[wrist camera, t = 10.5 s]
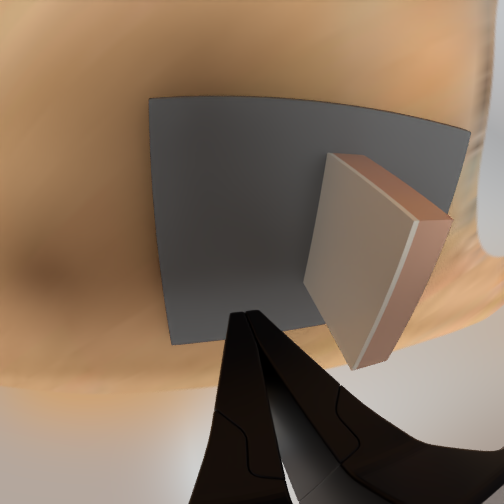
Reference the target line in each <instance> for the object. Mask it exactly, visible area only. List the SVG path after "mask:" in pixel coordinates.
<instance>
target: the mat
mask: <svg viewBox="0 0 504 504" xmlns="http://www.w3.org/2000/svg"><path fill="white" fill-rule="evenodd" d="M149 133H150V157H151V175H152V190H153V203H154V215H155V226H156V236H157V245H158V254H159V263H160V271H161V278H162V286H163V293H164V300H165V307H166V313H167V320H168V326H169V332H170V338H171V344H172V345H180V344H190V343H200V342H208V341H217V340H225V339H226V332H227V326H228V320H229V315H230V313H232V312H241V311H243V312H245V311H249V310H260V311H261V312H262V313H263V314H264V315H265V316H266V317H267V318H268V319H269V320H270V321H272V322H273V323H274V324H275V325H276V326H277V327H278V328H279V329H280V330H281V331H287V330H293V329H299V328H305V327H311V326H316V325H322V324H326V323H325V321H324V319H323V317H322V316H321V314H320V312H319V310H318V308H317V306H316V305H315V303H314V301H313V299H312V297H311V296H310V294H309V292H308V290H307V288H306V287H305V285H304V283H303V281H304V276H305V272H306V267H307V262H308V257H309V252H310V247H311V242H312V237H313V232H314V227H315V221H316V216H317V211H318V205H319V200H320V194H321V188H322V182H323V177H324V171H325V165H326V158H327V153H341V154H357V155H365V156H366V157H368V158H369V159H371V160H372V161H374V162H375V163H377V164H378V165H380V166H381V167H383V168H384V169H386V170H387V171H389V172H390V173H392V174H393V175H395V176H396V177H398V178H399V179H400V180H402V181H403V182H405V183H406V184H407V185H409V186H410V187H412V188H413V189H414V190H416V191H417V192H418V193H420V194H421V195H423V196H424V197H425V198H427V199H428V200H429V201H431V202H432V203H433V204H434V205H436V206H437V207H438V208H440V209H441V210H442V211H443V212H445V213H446V214H448V211H449V208H450V205H451V202H452V199H453V196H454V193H455V189H456V186H457V183H458V180H459V176H460V173H461V169H462V166H463V162H464V159H465V155H466V151H467V147H468V143H469V139H470V135H471V132H469V131H467V130H465V129H461V128H458V127H454V126H450V125H447V124H443V123H439V122H435V121H431V120H427V119H422V118H418V117H413V116H409V115H404V114H399V113H394V112H389V111H383V110H378V109H372V108H366V107H360V106H353V105H346V104H338V103H331V102H322V101H313V100H302V99H290V98H276V97H256V96H179V97H160V98H149Z"/></svg>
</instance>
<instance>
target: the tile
mask: <svg viewBox="0 0 504 504" xmlns="http://www.w3.org/2000/svg"><path fill="white" fill-rule="evenodd" d="M452 222H453V219H452V218H451V217H450V216H449V215H447V214H446V213H445V212H443V211H442V210H441V209H440V208H438V207H437V206H436V205H434V204H433V203H432V202H431V201H429V200H428V199H427V198H425V197H424V196H423V195H421V194H420V193H418V192H417V191H416V190H414V189H413V188H412V187H410V186H409V185H407V184H406V183H405V182H403V181H402V180H400V179H399V178H398V177H396V176H395V175H393V174H392V173H390V172H389V171H387V170H386V169H384V168H383V167H381V166H380V165H378V164H377V163H375V162H374V161H372V160H371V159H369V158H368V157H366V156H365V155H357V154H341V153H327V158H326V165H325V171H324V177H323V182H322V188H321V194H320V200H319V205H318V211H317V216H316V221H315V227H314V232H313V237H312V242H311V247H310V252H309V257H308V262H307V267H306V272H305V276H304V281H303V283H304V285H305V287H306V288H307V290H308V292H309V294H310V296H311V297H312V299H313V301H314V303H315V305H316V306H317V308H318V310H319V312H320V314H321V316H322V317H323V319H324V321H325V323H326V325H327V326H328V328H329V330H330V332H331V334H332V336H333V337H334V339H335V341H336V343H337V345H338V347H339V349H340V350H341V352H342V354H343V356H344V358H345V360H346V362H347V364H348V365H349V367H350V369H351V370H356V369H359V368H363V367H366V366H370V365H373V364H376V363H380V362H383V361H386V360H387V359H388V358H389V356H390V354H391V352H392V351H393V349H394V347H395V345H396V344H397V342H398V340H399V338H400V336H401V335H402V333H403V331H404V329H405V327H406V325H407V323H408V321H409V320H410V318H411V316H412V314H413V312H414V310H415V308H416V306H417V304H418V302H419V300H420V298H421V296H422V293H423V291H424V289H425V287H426V285H427V283H428V281H429V278H430V276H431V274H432V272H433V269H434V267H435V265H436V262H437V260H438V258H439V255H440V253H441V251H442V248H443V246H444V243H445V241H446V238H447V236H448V233H449V230H450V228H451V225H452Z"/></svg>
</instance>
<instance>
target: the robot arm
mask: <svg viewBox="0 0 504 504" xmlns="http://www.w3.org/2000/svg"><path fill="white" fill-rule="evenodd" d="M281 459H282V460H281ZM282 462H283V464H284V467H285V469H286V472H287V474H288V477H289V479H290V482H291V484H292V487H293V489H294V491H295V494H296V497H297V499H298V501H300V502H299V504H504V447H502V448H501V449H500V450H497V451H478V450H468V449H459V448H451V447H444V446H436V445H431V444H427V443H424V442H422V441H419V440H417V439H415V438H413V437H412V436H410V435H408V434H407V433H405V432H404V431H402V430H401V429H399V428H398V427H396V426H395V425H393V424H392V423H390V422H388V421H387V420H386V419H384V418H382V417H381V416H380V415H378V414H377V413H375V412H374V411H373V410H371V409H370V408H368V407H367V406H366V405H364V404H363V403H362V402H361V401H359V400H358V399H357V398H356V397H355V396H353V395H352V394H351V393H350V392H349V391H348V390H346V389H345V388H344V387H343V386H342V385H341V386H340V384H339V383H338V382H337V381H336V380H335V379H334V378H333V377H332V376H330V375H329V374H328V373H327V372H326V371H325V370H324V369H323V368H322V367H321V366H319V365H318V364H317V363H316V362H315V361H314V360H313V359H312V358H311V357H309V356H308V355H307V354H306V353H305V352H304V351H303V350H302V349H301V348H300V347H299V346H297V345H296V344H295V343H294V342H293V341H292V340H291V339H290V338H289V337H288V336H287V335H286V334H284V333H283V332H282V331H281V330H280V329H279V328H278V327H277V326H276V325H275V324H274V323H273V322H272V321H270V320H269V319H268V318H267V317H266V316H265V315H264V314H263V313H262V312H261V311H260V310H249V311H245V312H243V311H241V312H232V313H230V315H229V320H228V326H227V332H226V339H225V345H224V351H223V357H222V363H221V370H220V376H219V382H218V389H217V395H216V402H215V408H214V413H213V420H212V426H211V431H210V436H209V441H208V444H207V448H206V451H205V456H204V459H203V462H202V465H201V468H200V471H199V474H198V477H197V480H196V483H195V486H194V489H193V492H192V495H191V498H190V501H189V504H293V503H292V501H291V498H290V495H289V492H288V488H287V484H286V481H285V474H284V470H283V465H282Z"/></svg>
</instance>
